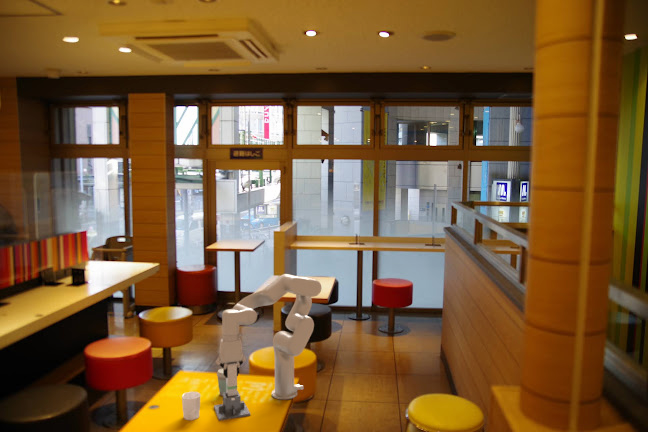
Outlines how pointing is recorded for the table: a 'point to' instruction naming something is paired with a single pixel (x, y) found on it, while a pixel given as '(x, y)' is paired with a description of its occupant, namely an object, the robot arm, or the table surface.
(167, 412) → the table surface
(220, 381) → the coffee cup
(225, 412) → the stand base
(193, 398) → the white cup
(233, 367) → the post
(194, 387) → the table surface
